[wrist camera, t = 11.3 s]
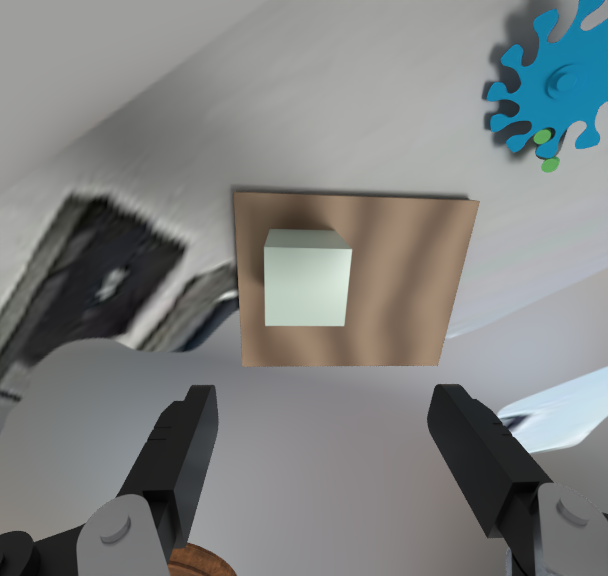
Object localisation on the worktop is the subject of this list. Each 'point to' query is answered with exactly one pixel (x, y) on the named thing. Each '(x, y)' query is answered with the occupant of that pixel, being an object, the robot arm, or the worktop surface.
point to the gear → (557, 85)
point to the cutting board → (197, 563)
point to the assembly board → (359, 277)
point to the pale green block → (306, 277)
